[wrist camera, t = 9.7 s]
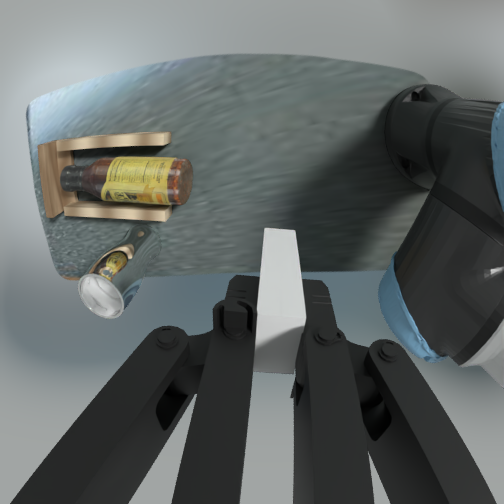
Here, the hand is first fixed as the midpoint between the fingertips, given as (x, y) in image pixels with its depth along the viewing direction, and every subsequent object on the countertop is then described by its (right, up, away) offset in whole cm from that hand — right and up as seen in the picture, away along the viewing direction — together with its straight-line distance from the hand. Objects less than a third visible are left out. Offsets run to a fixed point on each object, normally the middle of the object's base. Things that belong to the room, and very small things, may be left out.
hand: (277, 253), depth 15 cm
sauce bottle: (-9, +9, +21) cm, 24 cm away
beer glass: (-18, +2, +29) cm, 35 cm away
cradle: (-23, +12, +24) cm, 36 cm away
